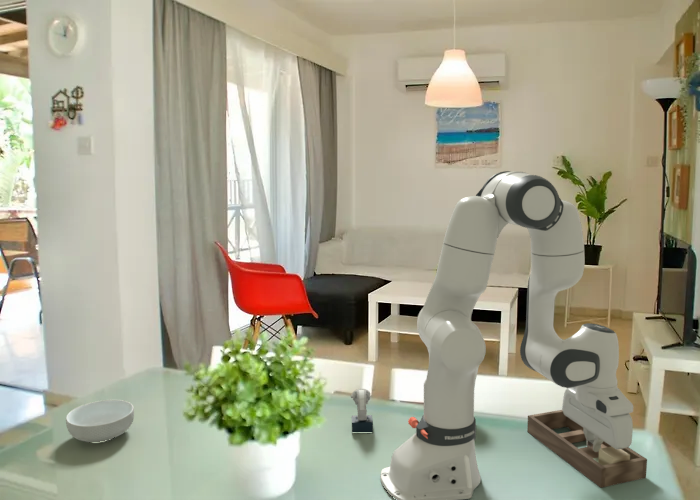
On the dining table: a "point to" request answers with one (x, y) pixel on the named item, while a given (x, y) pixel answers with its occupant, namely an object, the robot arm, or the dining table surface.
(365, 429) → the grey joystick on base
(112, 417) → the cereal bowl
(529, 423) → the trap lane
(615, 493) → the dining table surface
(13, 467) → the dining table surface
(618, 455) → the block
